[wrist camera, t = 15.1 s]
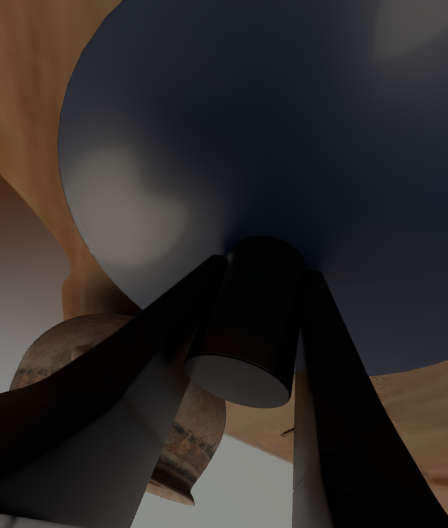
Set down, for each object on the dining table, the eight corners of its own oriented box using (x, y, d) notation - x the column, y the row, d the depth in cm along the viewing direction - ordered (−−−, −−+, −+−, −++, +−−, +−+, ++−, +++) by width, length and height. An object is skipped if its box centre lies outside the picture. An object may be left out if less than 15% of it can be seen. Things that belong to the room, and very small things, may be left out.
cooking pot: (43, 222, 23) (-122, 361, 15) (271, 295, 21) (225, 499, 13) (100, 355, 42) (40, 451, 33) (225, 401, 40) (193, 513, 32)
